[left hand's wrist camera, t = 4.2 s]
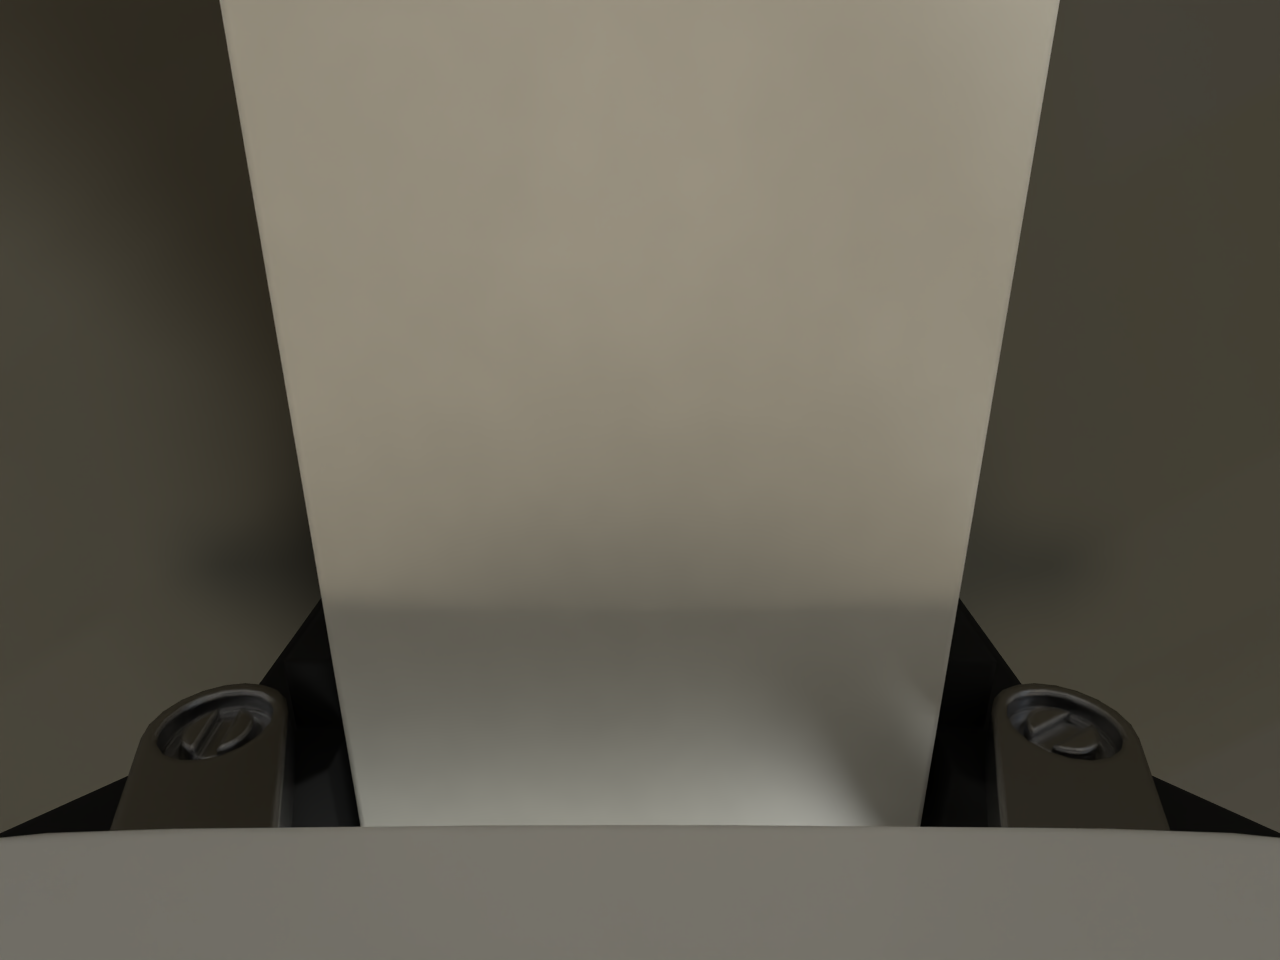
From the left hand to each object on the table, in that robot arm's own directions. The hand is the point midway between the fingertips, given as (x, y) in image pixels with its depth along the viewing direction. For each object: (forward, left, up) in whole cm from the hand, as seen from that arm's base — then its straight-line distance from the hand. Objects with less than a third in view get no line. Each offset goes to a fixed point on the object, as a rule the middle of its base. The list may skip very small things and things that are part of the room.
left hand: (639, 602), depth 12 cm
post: (+24, +5, -2) cm, 25 cm away
